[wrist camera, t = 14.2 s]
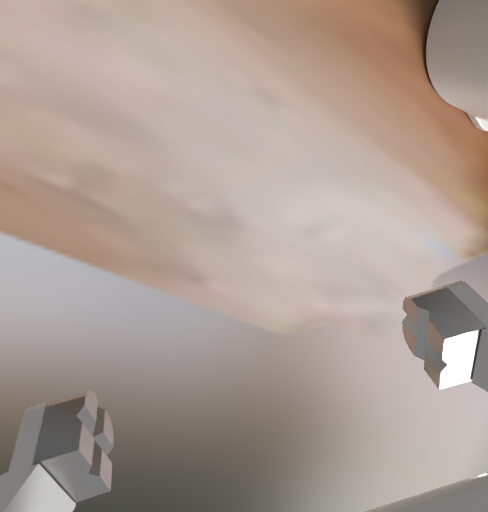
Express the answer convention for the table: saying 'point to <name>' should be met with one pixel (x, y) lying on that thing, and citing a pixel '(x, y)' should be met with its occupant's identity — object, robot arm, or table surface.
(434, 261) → the table surface
